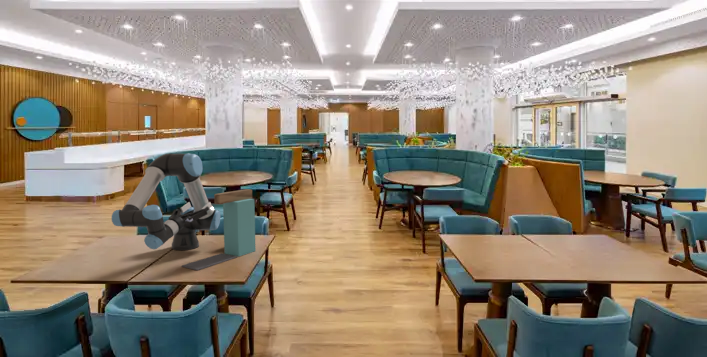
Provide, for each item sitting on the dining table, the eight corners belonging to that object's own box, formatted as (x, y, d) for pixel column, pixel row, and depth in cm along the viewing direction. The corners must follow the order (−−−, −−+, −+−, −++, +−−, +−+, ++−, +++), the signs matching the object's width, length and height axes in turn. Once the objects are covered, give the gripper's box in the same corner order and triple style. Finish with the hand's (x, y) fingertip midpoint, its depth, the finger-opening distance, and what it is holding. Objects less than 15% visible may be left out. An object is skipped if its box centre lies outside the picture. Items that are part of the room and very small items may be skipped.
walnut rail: (214, 203, 234) (214, 194, 234) (247, 197, 255) (246, 189, 254) (219, 204, 232) (219, 194, 232) (252, 198, 253) (252, 189, 252)
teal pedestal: (224, 253, 247) (222, 200, 244) (241, 248, 258) (240, 197, 255) (238, 256, 241) (237, 202, 238) (255, 251, 252) (254, 199, 249)
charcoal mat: (181, 266, 223) (181, 265, 223) (221, 254, 245) (221, 253, 245) (197, 270, 217) (197, 269, 217) (236, 257, 239) (236, 256, 239)
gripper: (155, 231, 218) (183, 210, 236) (195, 233, 209) (221, 211, 227) (150, 218, 215) (179, 198, 233) (190, 219, 206) (217, 198, 224)
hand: (200, 204), depth 230 cm, fingers open, 13 cm apart
